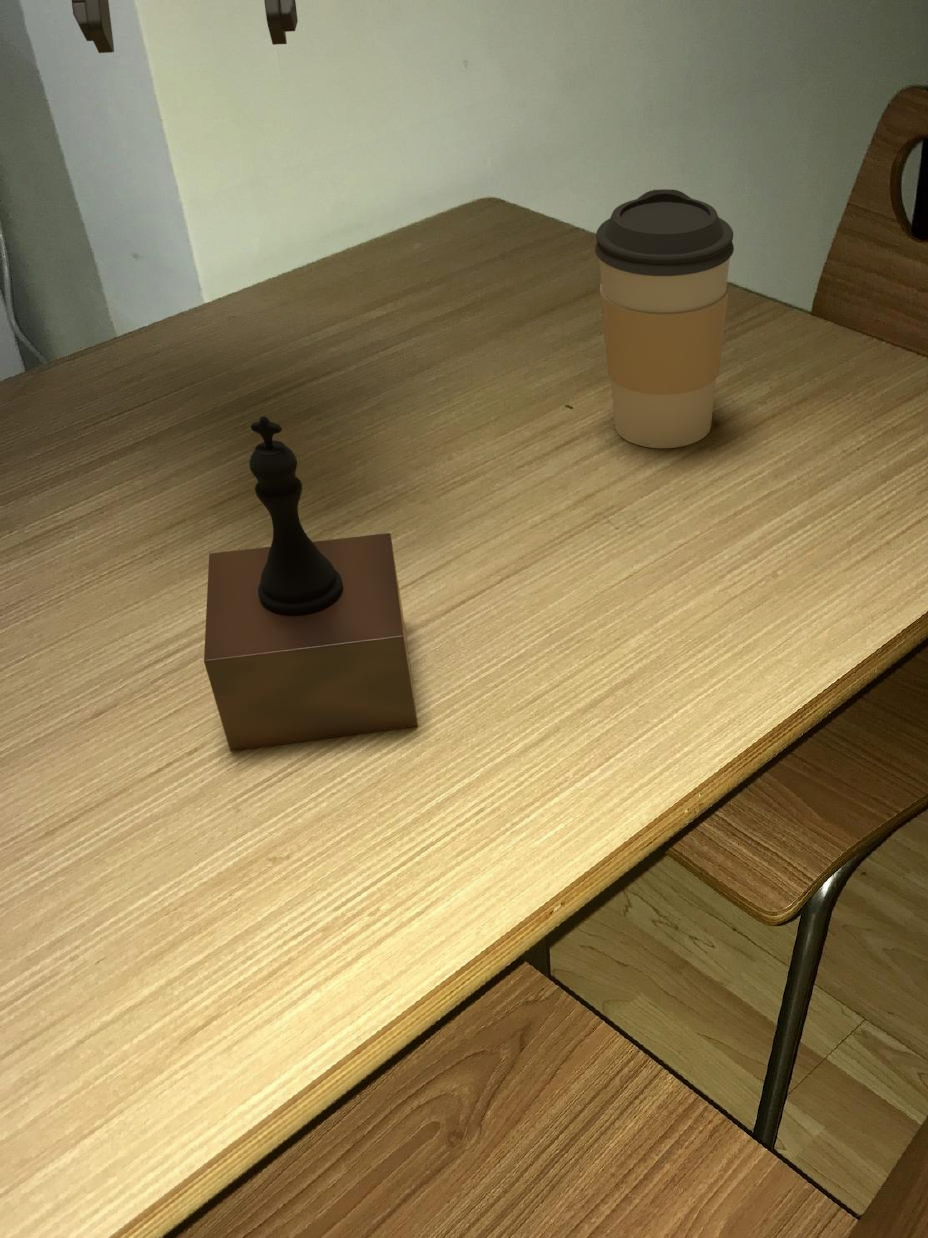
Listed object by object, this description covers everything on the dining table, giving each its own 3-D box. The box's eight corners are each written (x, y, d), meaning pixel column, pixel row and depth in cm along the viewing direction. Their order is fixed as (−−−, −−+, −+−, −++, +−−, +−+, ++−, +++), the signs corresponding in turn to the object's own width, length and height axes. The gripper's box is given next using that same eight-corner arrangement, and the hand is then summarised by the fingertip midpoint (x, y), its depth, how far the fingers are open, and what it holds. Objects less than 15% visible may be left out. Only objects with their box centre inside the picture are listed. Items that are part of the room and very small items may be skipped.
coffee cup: (728, 456, 92) (739, 234, 82) (598, 457, 93) (591, 235, 82) (723, 395, 99) (732, 181, 88) (601, 395, 99) (595, 182, 88)
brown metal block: (229, 751, 71) (203, 661, 67) (232, 641, 78) (208, 553, 74) (418, 726, 72) (403, 636, 68) (404, 620, 79) (390, 532, 75)
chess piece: (277, 564, 73) (237, 391, 66) (354, 572, 72) (322, 398, 65) (246, 611, 70) (201, 435, 63) (326, 619, 69) (289, 443, 62)
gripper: (-26, -349, 62) (15, -1, 62) (286, -356, 63) (326, -16, 63) (29, -220, 69) (66, 90, 69) (307, -229, 71) (343, 75, 71)
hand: (190, 39), depth 66 cm, fingers open, 8 cm apart
